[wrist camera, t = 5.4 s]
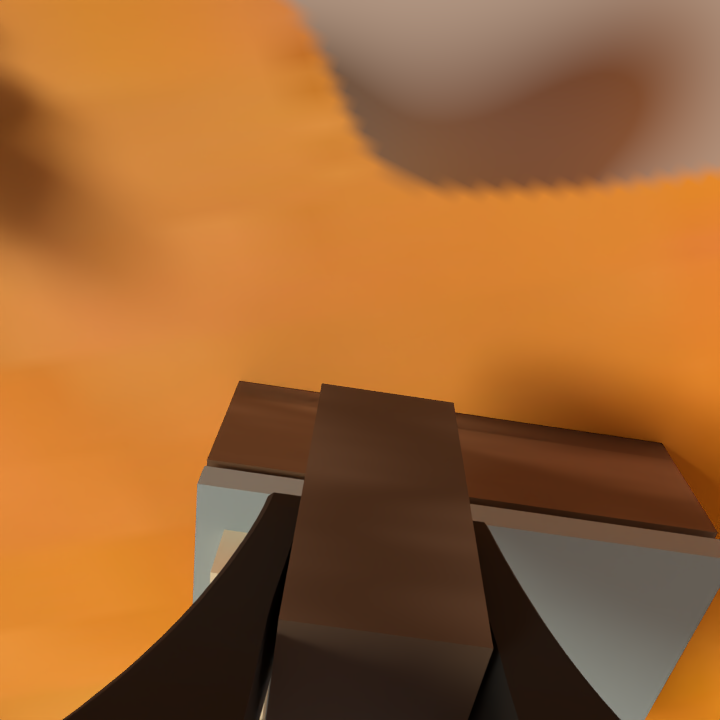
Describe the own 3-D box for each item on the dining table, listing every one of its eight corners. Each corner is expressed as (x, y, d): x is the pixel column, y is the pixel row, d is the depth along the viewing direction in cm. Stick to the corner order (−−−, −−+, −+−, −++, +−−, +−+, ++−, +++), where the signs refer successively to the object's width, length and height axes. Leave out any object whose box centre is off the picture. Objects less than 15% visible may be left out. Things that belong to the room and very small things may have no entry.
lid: (592, 777, 25) (611, 849, 23) (193, 726, 24) (174, 794, 22) (722, 539, 19) (763, 606, 17) (204, 465, 19) (180, 524, 16)
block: (453, 402, 15) (492, 648, 9) (428, 504, 16) (448, 774, 11) (322, 383, 15) (279, 619, 9) (307, 487, 16) (262, 750, 10)
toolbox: (563, 665, 29) (590, 769, 25) (222, 619, 28) (195, 718, 24) (662, 443, 23) (717, 532, 19) (239, 380, 23) (207, 459, 19)
